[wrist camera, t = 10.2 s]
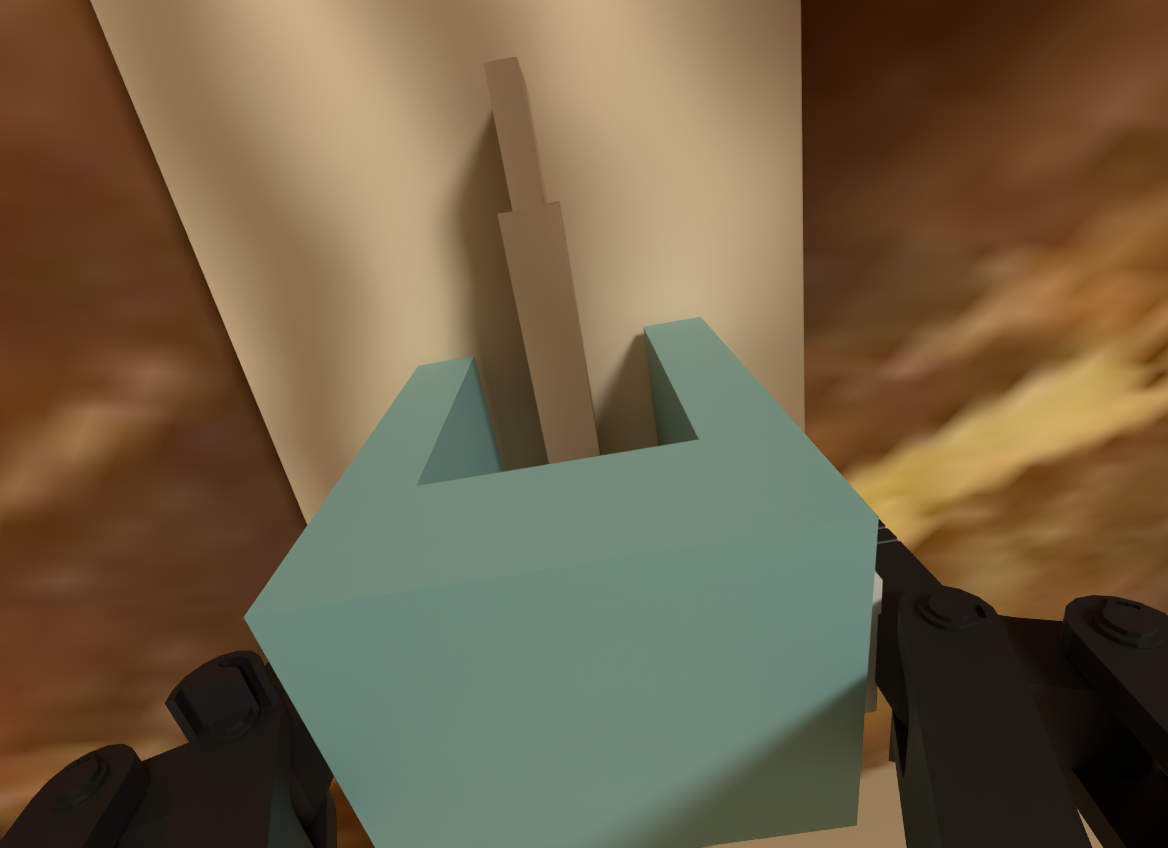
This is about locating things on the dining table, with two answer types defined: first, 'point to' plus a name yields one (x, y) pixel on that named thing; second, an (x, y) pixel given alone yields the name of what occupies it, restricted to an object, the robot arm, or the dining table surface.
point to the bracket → (584, 623)
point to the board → (478, 202)
